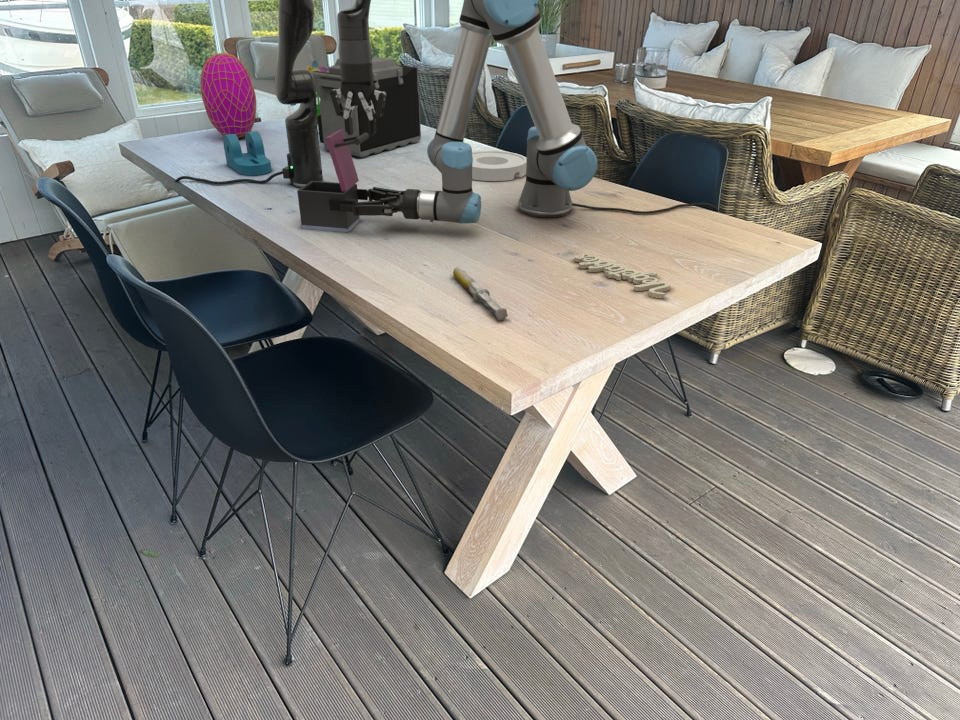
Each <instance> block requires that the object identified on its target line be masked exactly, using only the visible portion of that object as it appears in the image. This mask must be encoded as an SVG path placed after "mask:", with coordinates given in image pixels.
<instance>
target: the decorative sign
mask: <svg viewBox="0 0 960 720" xmlns="http://www.w3.org/2000/svg"><path fill="white" fill-rule="evenodd" d="M574 262H575V263H578V269H588V270H587V272H588V273H598V272H603V273H604V276H606V277H607V278H608V279H614V280H617V281H621V279H622V280H627V281H628V282H630V283H633V284H634V285H633V291H636V292H643V291H647V290H648V293H647V294H648V296H649V297H652V298H656V299H664V298H665V295H666V292H668V291H669V290H670V289H671V283H670V282H668V281H659V279H658V272H657V271H648V272H639V271H637V270H634V269H630V268H628V267H627V266H626V267H625V266H624V265H619V264H618V263H615V262H611V261H610V260H604V258H601V257H598V256H596V255H592V254H590V253H587V252H586V253H582V254H581V255H580V256H578V255H575V256H574Z"/></svg>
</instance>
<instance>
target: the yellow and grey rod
mask: <svg viewBox="0 0 960 720" xmlns="http://www.w3.org/2000/svg"><path fill="white" fill-rule="evenodd" d="M452 274H453V277H454V279H455V280H457V281H458V282H459V283H460V285H462V287H464V289H466V290H467V291H468V293H470V295H471V296H472V298H473V300H474V302H477V303H478V302H480V303H482V304H483V305H484V306H485V307H486V308H487V309H488V310H489V311H490V312H491V313H492V314H493V315H494V316H495V317H496V320H497V321H503V320H504V319H506V318H507V317H509V314H508V310H507V308H506V307H502V306H501V305H500V303H498V302H497V301H496V300H494V299H493V298H492V297H491V296H490V295H491V293H490V290H488V289H486V288H483V287H482V286H481V285H480V284H479V283H478V282H477V281H476V280H474V278H473V277H471V275H469V274H468V273H467V272H466V270H465V269H464V268H463V267H462V266H456V267H454V268H453V271H452Z"/></svg>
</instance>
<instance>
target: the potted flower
mask: <svg viewBox="0 0 960 720" xmlns="http://www.w3.org/2000/svg"><path fill="white" fill-rule="evenodd" d="M305 69H307V70H309V71H310V72H313V71H321V72H328V71H329V67H327V66H325V65H320V66H319V62H318V61H317V60H316V59H315V58H314V59H313V60H312V61H311V66H306V68H305ZM316 100H317V117H318V116H319V115H321V111H320V98H319V96H318V94H317V93H316ZM317 124H318V120H317Z"/></svg>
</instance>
